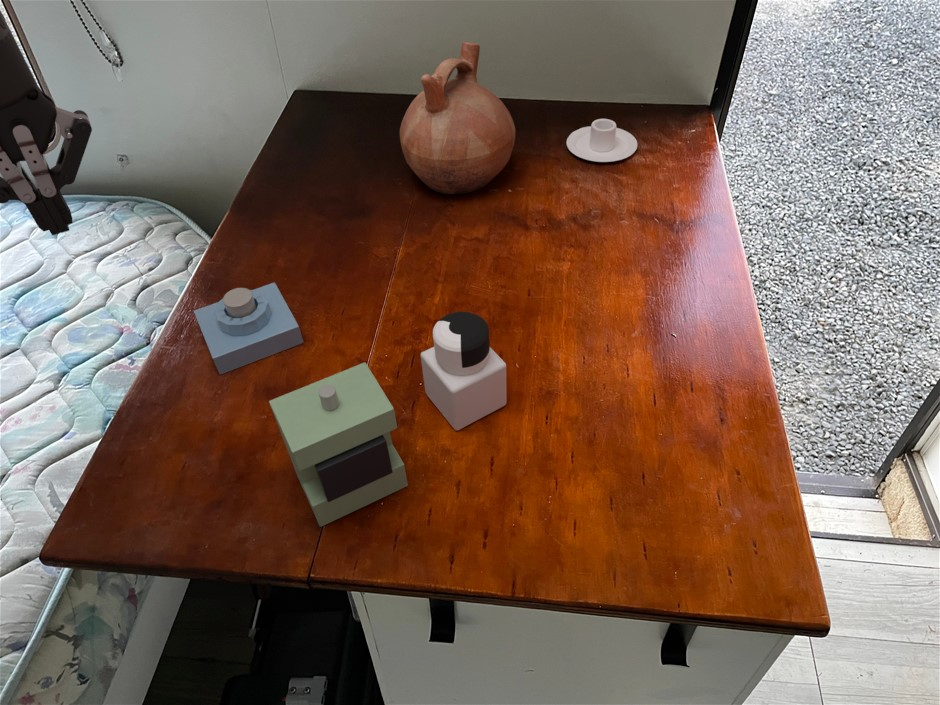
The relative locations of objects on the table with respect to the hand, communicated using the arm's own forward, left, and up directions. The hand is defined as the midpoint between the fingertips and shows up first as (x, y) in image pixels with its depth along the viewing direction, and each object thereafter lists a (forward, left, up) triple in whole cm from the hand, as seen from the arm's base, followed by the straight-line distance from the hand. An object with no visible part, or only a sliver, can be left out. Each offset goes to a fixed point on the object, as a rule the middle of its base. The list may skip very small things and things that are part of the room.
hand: (59, 228), depth 64 cm
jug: (+54, +27, -27) cm, 66 cm away
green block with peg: (+16, -21, -27) cm, 38 cm away
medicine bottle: (+32, -16, -27) cm, 45 cm away
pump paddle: (+16, -24, -23) cm, 36 cm away
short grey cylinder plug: (+13, +8, -22) cm, 27 cm away
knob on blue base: (+13, +8, -27) cm, 31 cm away
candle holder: (+79, +22, -27) cm, 86 cm away
